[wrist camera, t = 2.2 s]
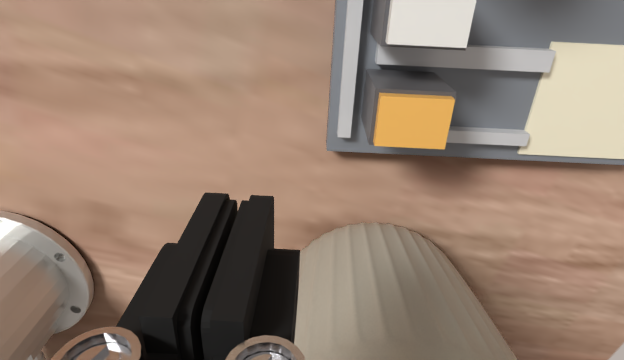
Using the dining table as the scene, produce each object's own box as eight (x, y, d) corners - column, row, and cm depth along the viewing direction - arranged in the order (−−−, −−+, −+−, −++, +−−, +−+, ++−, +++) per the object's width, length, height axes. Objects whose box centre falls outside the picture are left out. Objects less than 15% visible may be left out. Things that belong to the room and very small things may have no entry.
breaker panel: (613, 156, 28) (636, 170, 26) (326, 142, 28) (326, 155, 26) (705, -61, 22) (744, -65, 20) (340, -80, 22) (343, -85, 20)
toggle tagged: (424, 120, 25) (447, 153, 21) (361, 117, 25) (370, 149, 21) (433, 72, 24) (460, 95, 19) (366, 68, 24) (377, 91, 19)
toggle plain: (440, 36, 23) (469, 52, 18) (370, 33, 23) (382, 48, 18) (450, -23, 22) (485, -21, 17) (376, -27, 22) (391, -25, 17)
